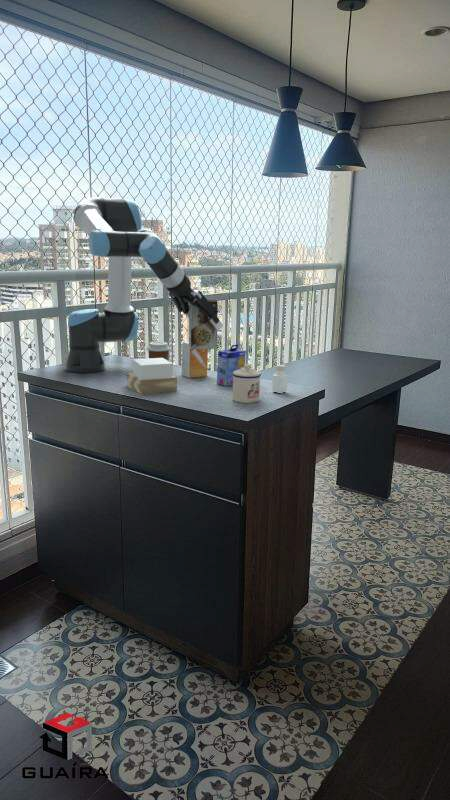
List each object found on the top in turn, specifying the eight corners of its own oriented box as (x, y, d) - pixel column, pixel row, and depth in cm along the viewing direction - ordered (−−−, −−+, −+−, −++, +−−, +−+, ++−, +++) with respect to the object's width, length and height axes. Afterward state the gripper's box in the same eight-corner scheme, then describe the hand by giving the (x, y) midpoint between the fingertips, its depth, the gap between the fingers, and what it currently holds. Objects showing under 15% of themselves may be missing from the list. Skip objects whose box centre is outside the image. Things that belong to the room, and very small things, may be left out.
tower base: (127, 387, 195) (127, 373, 194) (161, 383, 202) (161, 370, 201) (141, 395, 185) (141, 380, 183) (176, 391, 191) (177, 377, 190)
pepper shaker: (280, 394, 189) (282, 367, 187) (271, 392, 192) (272, 365, 190) (287, 392, 192) (289, 365, 190) (277, 390, 195) (279, 363, 193)
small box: (189, 378, 210) (189, 344, 207) (181, 375, 215) (181, 341, 212) (207, 376, 214) (208, 342, 211) (199, 373, 220) (199, 340, 216)
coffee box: (214, 346, 194) (215, 299, 190) (216, 349, 188) (218, 301, 184) (187, 345, 192) (188, 298, 188) (190, 349, 186) (191, 300, 182)
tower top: (132, 373, 194) (132, 359, 193) (162, 371, 199) (162, 357, 197) (141, 380, 184) (140, 365, 183) (172, 377, 189) (172, 363, 188)
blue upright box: (227, 386, 198) (228, 346, 195) (215, 384, 202) (216, 344, 198) (245, 382, 206) (246, 343, 202) (234, 380, 209) (235, 341, 206)
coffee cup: (171, 371, 221) (171, 341, 218) (168, 376, 212) (168, 345, 209) (148, 370, 221) (148, 340, 218) (145, 375, 212) (144, 344, 209)
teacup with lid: (251, 405, 175) (252, 368, 172) (226, 400, 179) (227, 365, 176) (268, 397, 185) (270, 363, 182) (244, 393, 189) (246, 359, 186)
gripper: (145, 286, 181) (181, 330, 197) (193, 291, 166) (227, 339, 182) (158, 269, 184) (192, 314, 199) (206, 273, 169) (239, 321, 184)
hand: (209, 326), depth 190 cm, fingers closed on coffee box, 10 cm apart
